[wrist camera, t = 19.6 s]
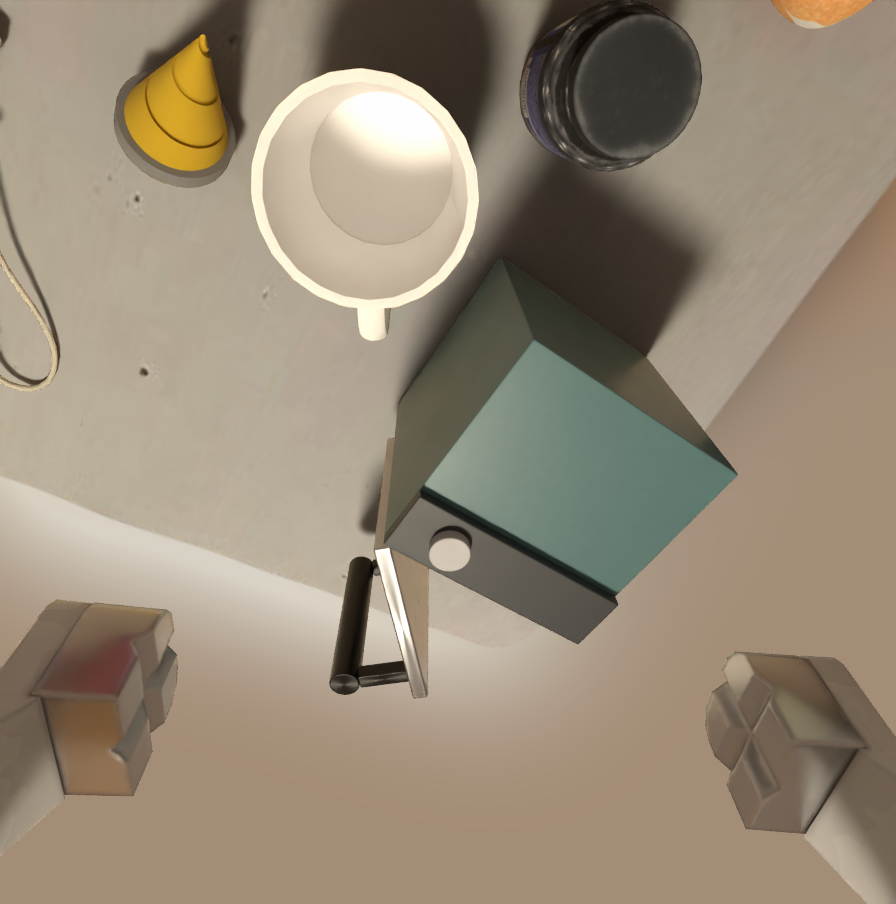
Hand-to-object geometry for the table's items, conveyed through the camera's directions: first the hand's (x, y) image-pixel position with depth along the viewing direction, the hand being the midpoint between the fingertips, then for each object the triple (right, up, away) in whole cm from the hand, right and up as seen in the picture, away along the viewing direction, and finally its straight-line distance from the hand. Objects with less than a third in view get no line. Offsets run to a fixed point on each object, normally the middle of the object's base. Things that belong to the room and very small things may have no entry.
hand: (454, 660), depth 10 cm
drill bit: (-13, +21, +24) cm, 34 cm away
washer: (+4, +7, +31) cm, 33 cm away
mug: (-4, +17, +26) cm, 32 cm away
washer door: (-5, -1, +33) cm, 33 cm away
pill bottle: (+6, +21, +24) cm, 33 cm away
